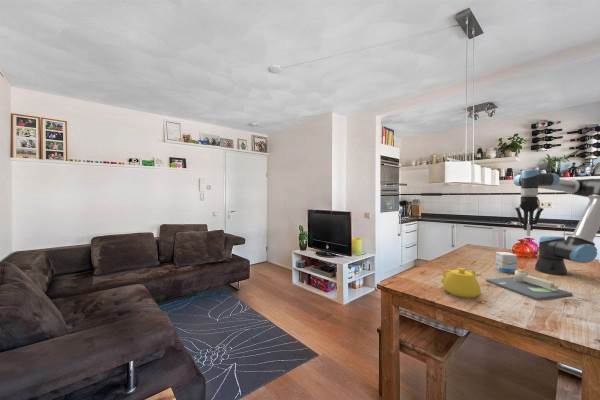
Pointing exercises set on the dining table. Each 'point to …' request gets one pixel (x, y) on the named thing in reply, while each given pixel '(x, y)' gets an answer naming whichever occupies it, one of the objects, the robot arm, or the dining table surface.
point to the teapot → (461, 283)
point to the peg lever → (532, 279)
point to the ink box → (506, 262)
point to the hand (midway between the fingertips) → (527, 235)
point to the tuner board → (528, 288)
